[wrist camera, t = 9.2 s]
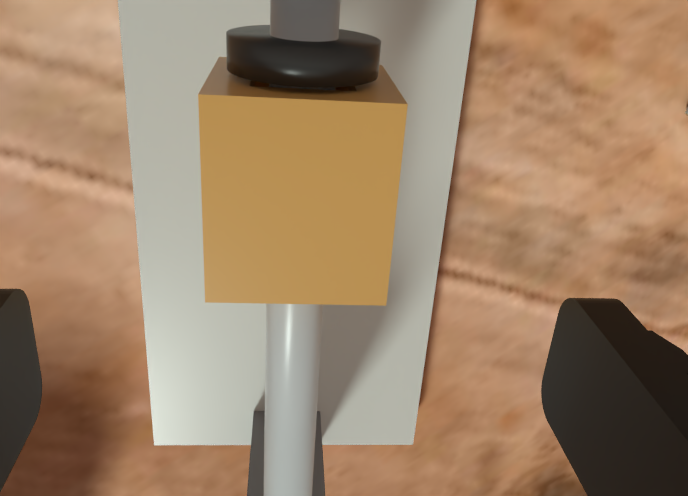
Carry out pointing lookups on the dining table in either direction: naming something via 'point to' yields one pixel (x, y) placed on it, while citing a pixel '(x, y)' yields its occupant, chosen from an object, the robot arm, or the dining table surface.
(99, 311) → the dining table surface
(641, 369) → the robot arm
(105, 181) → the dining table surface
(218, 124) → the sleeve
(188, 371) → the cable stand
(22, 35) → the dining table surface
